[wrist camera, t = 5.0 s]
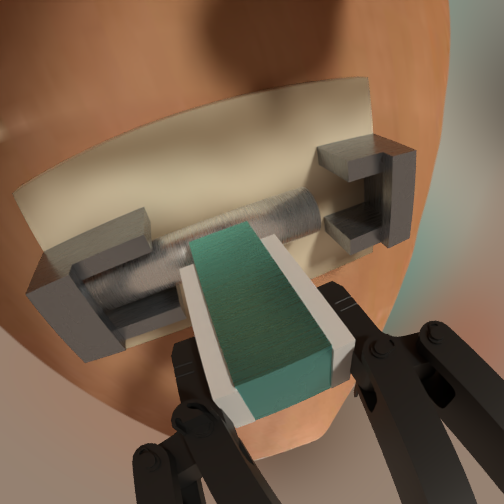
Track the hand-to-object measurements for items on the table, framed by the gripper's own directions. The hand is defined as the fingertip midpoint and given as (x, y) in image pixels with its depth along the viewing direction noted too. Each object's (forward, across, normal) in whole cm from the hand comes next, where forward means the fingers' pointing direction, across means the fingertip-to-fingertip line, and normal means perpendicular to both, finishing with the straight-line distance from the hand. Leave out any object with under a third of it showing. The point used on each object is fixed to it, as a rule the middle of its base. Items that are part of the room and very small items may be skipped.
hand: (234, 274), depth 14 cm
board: (+6, +1, 0) cm, 6 cm away
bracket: (+5, -7, 0) cm, 8 cm away
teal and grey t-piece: (+4, -2, 0) cm, 5 cm away
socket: (+5, +9, 0) cm, 10 cm away
